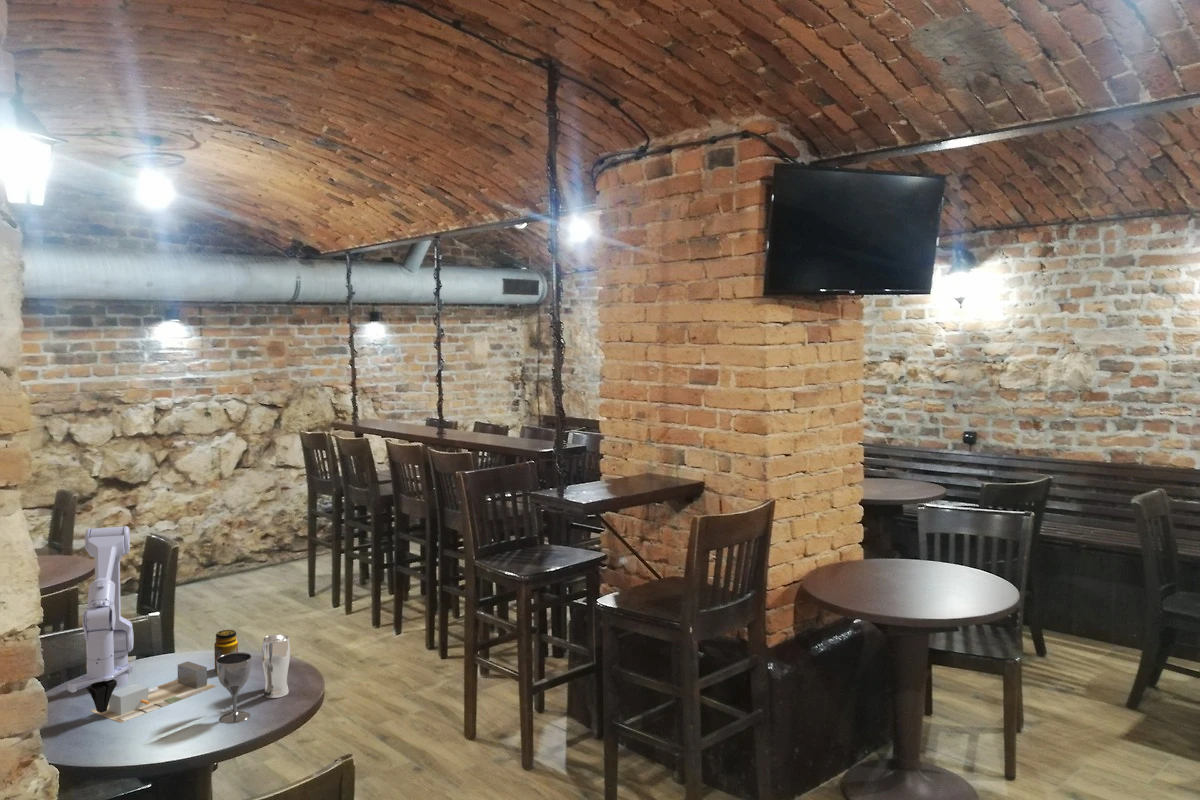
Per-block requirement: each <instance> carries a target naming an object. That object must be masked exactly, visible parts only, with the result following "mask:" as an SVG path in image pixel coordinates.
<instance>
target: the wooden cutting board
mask: <svg viewBox="0 0 1200 800" xmlns="http://www.w3.org/2000/svg"><path fill="white" fill-rule="evenodd" d="M156 687H158V691H157V692H154V693H152V694H149V695H148V701H149V704H148V705H147V706H144V707H142V708H139V709H136V710H134V711H131V712H128V713H126V714H123V715H119V714H117V713H114V712H111V711H109V703H108V707H107V711H105V712H102V713H100V712H98V711H97V710H96V708H94V709H91V710H89V712H91V713H95V714H96V715H99V716H102V717H104V718H106V719H110V720H112V721H114V722H117V723H119V724H123V723H124V722H127V721H130V720H132V719H135V718H137V717H140V716H144V715H146V714H148V713H151V712H153V711H156V710H158V709H159V710H160V709H161V708H163V707H164V708H165V707H166V706H169V705H172V704H174V703H176V702H180V701H183V700H186V699H188V698H191V697H192V696H195V695H197V694H200V693H202V692H205V691H208V690H211V689H213V688H216V687H217V685H213V684H210V683H208V682H207V686H205V687H202V688H198V689H194V688H191V687H188V686H185V685H182V684H179V683H178V678H177V679H175V680H172V681H168V682H166V683H163V684H160V685H157V686H156Z"/></svg>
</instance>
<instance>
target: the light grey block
mask: <svg viewBox="0 0 1200 800" xmlns="http://www.w3.org/2000/svg"><path fill="white" fill-rule="evenodd" d="M157 691H158V687H157V686H154V687H152V688H149V687H148V686H144V685H141V684H139V683H134V684H131V685H128V686H125V687H121V688H119V689H116V690H113V692H112V694H111V697H110V700H109V703H108V704H109V711H111V712H114V713H117V714H119V715H123V714H126V713H128V712H131V711H134V710H136V709H139V708H142V707H144V706H147V705H148V704H149V701H148V695H149V694H152V693H154V692H157Z"/></svg>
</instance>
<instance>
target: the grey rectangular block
mask: <svg viewBox="0 0 1200 800" xmlns="http://www.w3.org/2000/svg"><path fill="white" fill-rule="evenodd" d="M207 671H208V668H207V666H204V665H200V664H197V663H194V662H191V661H183V662H182V663H179V664H177V679H178V683H179V684H182V685H185V686H188V687H191V688H194V689H198V688H202V687H205V686H207V683H208V672H207Z"/></svg>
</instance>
